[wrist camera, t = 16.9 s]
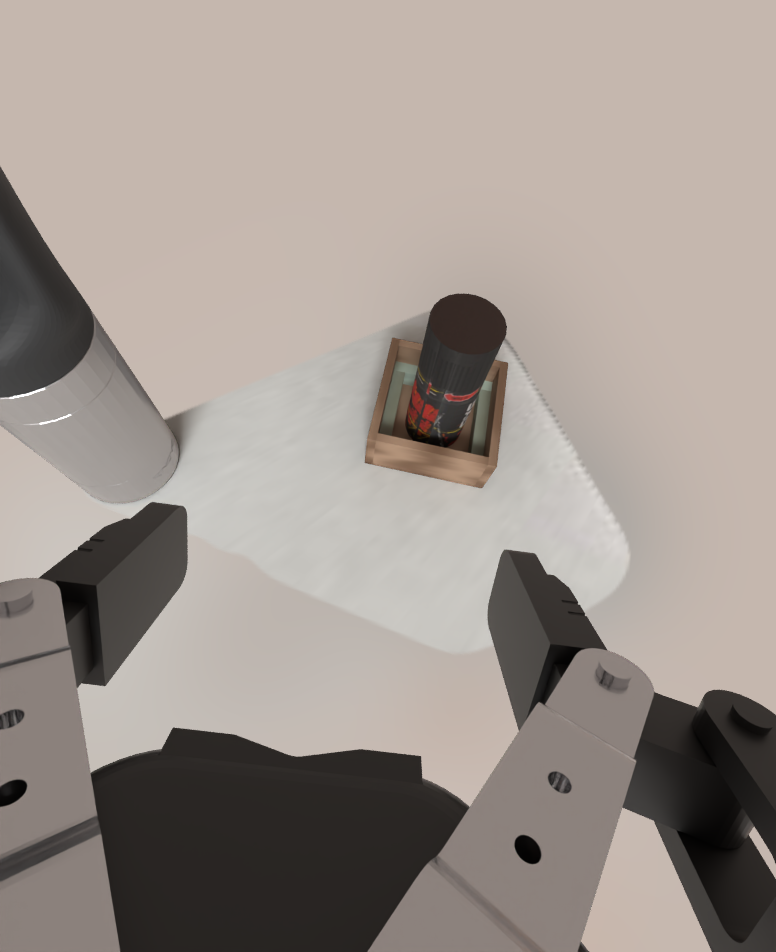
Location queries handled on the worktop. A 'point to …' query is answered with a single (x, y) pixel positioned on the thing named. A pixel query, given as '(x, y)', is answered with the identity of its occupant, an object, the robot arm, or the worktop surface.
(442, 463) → the holder box
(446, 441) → the deodorant
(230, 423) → the worktop surface
